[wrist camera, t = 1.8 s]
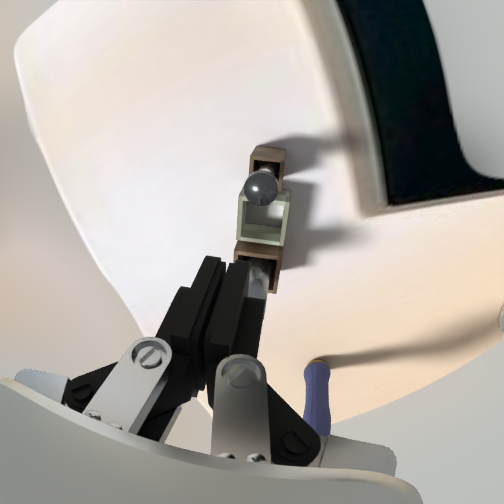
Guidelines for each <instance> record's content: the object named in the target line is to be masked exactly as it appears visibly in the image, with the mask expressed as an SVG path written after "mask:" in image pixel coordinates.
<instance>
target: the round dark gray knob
mask: <svg viewBox="0 0 504 504" xmlns="http://www.w3.org/2000/svg"><path fill="white" fill-rule="evenodd" d="M275 170H276V165H275V163H274V162H271V161H263V162H262V163H261V165H260V167H259V169H258V170H257V171H255V172H253V173H251V174H250V175H249V177H248V178H247V180H246V182H245V185H244V194H245V196H246V198H247V199H248V200H249V201H250V202H251V203H253V204H255V205H258V206H265V205H268V204H270V203H272V202H273V201H274V200H275V198H276V197H277V194H278V188H279V185H278V180H277V178H276V177H275V176H274V174H275Z"/></svg>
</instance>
